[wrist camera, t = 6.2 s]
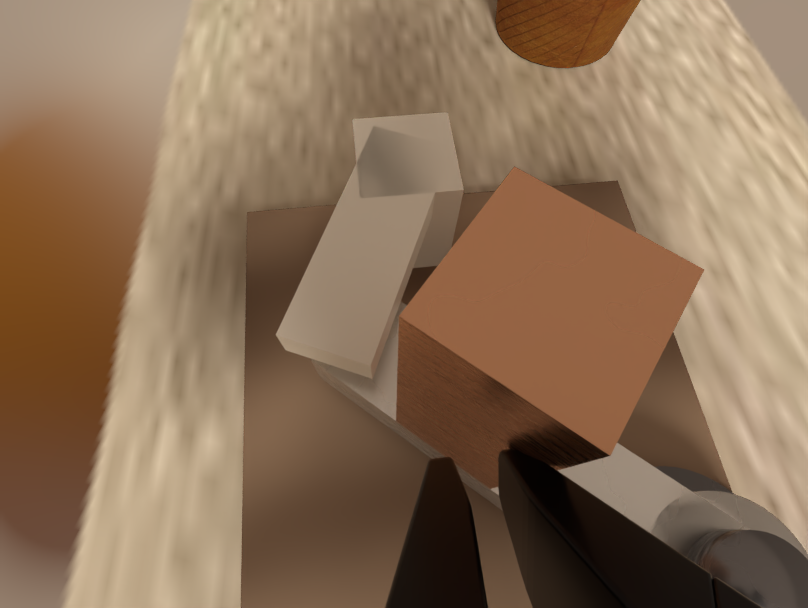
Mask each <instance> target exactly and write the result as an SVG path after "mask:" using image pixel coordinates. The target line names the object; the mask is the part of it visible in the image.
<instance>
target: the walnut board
mask: <svg viewBox="0 0 808 608" xmlns="http://www.w3.org/2000/svg"><path fill="white" fill-rule="evenodd" d="M551 187H553V188H555V189H557V190H558V191H560V192H562V193H564V194H566V195H568V196H570V197H571V198H573V199H575V200H577V201H579V202H581V203H582V204H584V205H586V206H588V207H590V208H592V209H593V210H595V211H597V212H599V213H601V214H603V215H605V216H606V217H608V218H610V219H612V220H614V221H616V222H617V223H619V224H621V225H623V226H625V227H627V228H628V229H630V230H632V231H634V232H636V230H635V227H634V224H633V222H632V219H631V216H630V213H629V211H628V208H627V205H626V203H625V200H624V197H623V194H622V192H621V189H620V186H619V184H618V181H608V182H596V183H584V184H573V185H561V186H551ZM494 192H495V191H490V192H479V193H467V194H463V196H462V201H461V205H460V210H459V215H458V219H457V224H456V228H455V233H454V238H453V242H452V247H453V245H454V244H455V243H456V241H457V240H458V239H459V238H460V236H461V235H462V234H463V232H464V231H465V230H466V229H467V227H468V226H469V225H470V223H471V222H472V221H473V219H474V218H475V217H476V216H477V214H478V213H479V212H480V210H481V209H482V208H483V207H484V205H485V204H486V203H487V201H488V200H489V199H490V198H491V196H492V195H493V194H494ZM335 207H336V205H326V206H314V207H303V208H291V209H279V210H267V211H256V212H247V263H246V324H245V385H244V446H243V507H242V568H241V608H385V605H386V602H387V598H388V595H389V592H390V588H391V585H392V581H393V578H394V575H395V571H396V568H397V564H398V561H399V558H400V554H401V551H402V548H403V544H404V541H405V537H406V534H407V531H408V527H409V524H410V520H411V517H412V514H413V510H414V507H415V503H416V500H417V497H418V493H419V490H420V486H421V483H422V480H423V476H424V473H425V470H426V466H427V463H428V461H429V460H430V459H431V458H430V457H428V456H427V455H426V454H424V453H423V452H421V451H420V450H419V449H417V448H416V447H415V446H413V445H412V444H410V443H409V442H408V441H406V440H405V439H404V438H402V437H401V436H399V435H398V434H397V433H395V432H394V431H393V430H391V429H390V428H388V427H387V426H386V425H384V424H383V423H382V422H380V421H379V420H378V419H376V418H375V417H373V416H372V415H371V414H369V413H368V412H367V411H365V410H364V409H362V408H361V407H360V406H358V405H357V404H356V403H354V402H353V401H351V400H350V399H349V398H347V397H346V396H345V395H343V394H342V393H340V392H339V391H338V390H336V389H335V388H334V387H332V386H331V385H329V384H328V383H327V382H325V381H324V380H323V379H321V378H320V376H319V374H318V372H317V370H316V368H315V367H314V365H313V363H312V361H311V358H308V357H305V356H302V355H299V354H296V353H293V352H289V351H286V350H285V348H284V347H283V345H282V344H281V342H280V341H279V339H278V338H277V336H276V333H277V331H278V329H279V327H280V325H281V323H282V320H283V318H284V316H285V314H286V312H287V310H288V308H289V305H290V303H291V301H292V299H293V297H294V295H295V293H296V291H297V288H298V286H299V284H300V282H301V280H302V278H303V276H304V273H305V271H306V269H307V267H308V265H309V263H310V261H311V259H312V256H313V254H314V252H315V250H316V248H317V246H318V244H319V242H320V239H321V237H322V235H323V233H324V231H325V229H326V227H327V224H328V222H329V220H330V218H331V216H332V214H333V212H334V210H335ZM636 233H637V232H636ZM452 247H451V248H452ZM436 267H437V266H430V267H419V268H413V270H412V272H411V275H410V278H409V280H408V283H407V286H406V289H405V291H404V294H403V297H402V300H401V302H403V303H404V304H406V305H408V304H409V302H410V301H411V300H412V298H413V297H414V296H415V295H416V293H417V292H418V291H419V289H420V288H421V287H422V285H423V284H424V283H425V282H426V280H427V279H428V278H429V276H430V275H431V274H432V273H433V271H434V270H435V269H436ZM617 443H618V444H620V445H622V446H623V447H625V448H626V449H628V450H629V451H631V452H632V453H634V454H635V455H637V456H638V457H640V458H641V459H643V460H645V461H646V462H648V463H649V464H651V465H652V466H654V467H656V466H668V467H678V468H682V469H687V470H691V471H693V472H696V473H699V474H702V475H704V476H706V477H708V478H710V479H712V480H714V481H716V482H718V483H719V484H721V485H722V486H724V487H726V488H727V489H729V490H730V491H731V492H732V490H731V488H730V485H729V482H728V479H727V477H726V474H725V471H724V469H723V466H722V463H721V460H720V458H719V455H718V452H717V450H716V447H715V444H714V441H713V439H712V436H711V433H710V431H709V428H708V425H707V422H706V420H705V417H704V414H703V412H702V409H701V406H700V403H699V401H698V398H697V395H696V393H695V390H694V387H693V384H692V382H691V379H690V376H689V374H688V371H687V368H686V365H685V363H684V360H683V357H682V355H681V352H680V349H679V346H678V344H677V341H676V338H675V336H674V333H672V335H671V337H670V339H669V341H668V343H667V345H666V347H665V349H664V351H663V353H662V354H661V356H660V358H659V360H658V362H657V364H656V366H655V368H654V370H653V372H652V374H651V376H650V378H649V380H648V382H647V384H646V386H645V388H644V390H643V392H642V394H641V396H640V398H639V400H638V402H637V404H636V406H635V408H634V410H633V412H632V414H631V416H630V418H629V420H628V422H627V424H626V426H625V428H624V430H623V432H622V434H621V436H620V438H619V440H618V442H617ZM462 483H463V485H464V488H465V490H466V493H467V495H468V498H469V501H470V504H471V507H472V512H473V517H474V523H475V529H476V535H477V541H478V548H479V554H480V560H481V566H482V572H483V579H484V585H485V591H486V597H487V603H488V608H533V607H532V604H531V602H530V599H529V596H528V594H527V591H526V588H525V585H524V581H523V578H522V575H521V572H520V568H519V565H518V561H517V558H516V554H515V551H514V548H513V544H512V541H511V537H510V534H509V530H508V527H507V523H506V520H505V517H504V513H503V511H502V510H501V509H500V508H498V507H497V506H495V505H494V504H493V503H491V502H490V501H489V500H487V499H486V498H484V497H483V496H482V495H480V494H479V493H478V492H476V491H475V490H474V489H472V488H471V487H469V486H468V485H467V484H465V483H464V482H463V481H462Z"/></svg>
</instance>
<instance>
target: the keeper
mask: <svg viewBox="0 0 808 608" xmlns="http://www.w3.org/2000/svg"><path fill="white" fill-rule="evenodd" d="M352 124H353V134H354V144H355V154H356V165H355V167H354V169H353V171H352V173H351V175H350V178H349V180H348V182H347V184H346V186H345V188H344V190H343V192H342V195H341V197H340V199H339V201H338V203H337V205H336V207H335V210H334V212H333V214H332V216H331V218H330V220H329V222H328V224H327V227H326V229H325V231H324V233H323V235H322V237H321V239H320V242H319V244H318V246H317V248H316V250H315V252H314V254H313V256H312V259H311V261H310V263H309V265H308V267H307V269H306V271H305V273H304V276H303V278H302V280H301V282H300V284H299V286H298V288H297V291H296V293H295V295H294V297H293V299H292V301H291V303H290V305H289V308H288V310H287V312H286V314H285V316H284V318H283V320H282V323H281V325H280V327H279V329H278V331H277V333H276V336H277V338H278V339H279V341H280V342H281V344H282V345H283V347H284V348H285V350H286V351H289V352H293V353H296V354H299V355H302V356H305V357H308V358H311V359H314V360H317V361H320V362H323V363H326V364H329V365H332V366H335V367H338V368H341V369H344V370H347V371H350V372H353V373H356V374H359V375H362V376H365V377H368V378H371V379H373V376H374V374H375V371H376V368H377V365H378V363H379V360H380V357H381V354H382V352H383V349H384V346H385V343H386V341H387V338H388V335H389V332H390V330H391V327H392V324H393V322H394V319H395V316H396V313H397V311H398V308H399V305H400V302H401V300H402V297H403V294H404V291H405V289H406V286H407V283H408V280H409V278H410V275H411V272H412V270H413V268H419V267H430V266H438V265H439V263H440V262H441V261H442V260H443V258H444V257H445V256H446V254H447V253H448V252H449V251H450V249H451V247H452V242H453V238H454V233H455V228H456V224H457V219H458V215H459V210H460V205H461V201H462V196H463V191H464V188H463V183H462V178H461V174H460V169H459V164H458V159H457V154H456V149H455V145H454V140H453V135H452V130H451V125H450V120H449V115H448V112H441V113H427V114H414V115H400V116H386V117H373V118H359V119H352Z"/></svg>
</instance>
